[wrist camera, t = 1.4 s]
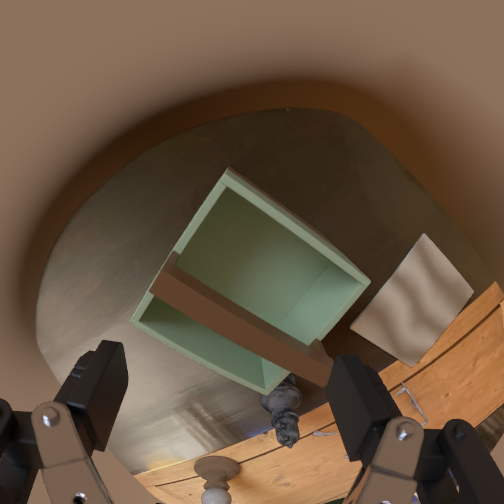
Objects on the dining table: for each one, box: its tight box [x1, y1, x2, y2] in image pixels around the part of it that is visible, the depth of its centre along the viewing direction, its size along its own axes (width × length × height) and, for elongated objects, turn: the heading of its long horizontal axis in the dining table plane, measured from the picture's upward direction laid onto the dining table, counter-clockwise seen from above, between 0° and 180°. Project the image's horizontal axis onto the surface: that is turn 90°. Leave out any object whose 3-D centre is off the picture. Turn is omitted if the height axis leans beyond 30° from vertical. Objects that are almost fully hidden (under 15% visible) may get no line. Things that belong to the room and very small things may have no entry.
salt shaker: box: [260, 373, 303, 449], centre depth 36 cm, size 6×6×12 cm
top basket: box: [129, 169, 371, 396], centre depth 23 cm, size 13×13×11 cm
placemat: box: [349, 233, 474, 368], centre depth 39 cm, size 16×16×1 cm
